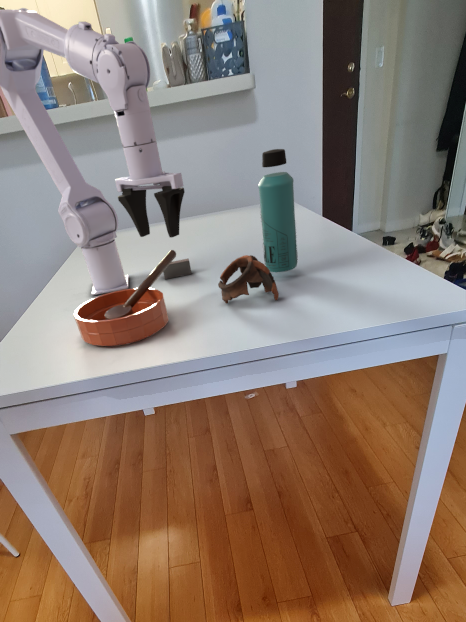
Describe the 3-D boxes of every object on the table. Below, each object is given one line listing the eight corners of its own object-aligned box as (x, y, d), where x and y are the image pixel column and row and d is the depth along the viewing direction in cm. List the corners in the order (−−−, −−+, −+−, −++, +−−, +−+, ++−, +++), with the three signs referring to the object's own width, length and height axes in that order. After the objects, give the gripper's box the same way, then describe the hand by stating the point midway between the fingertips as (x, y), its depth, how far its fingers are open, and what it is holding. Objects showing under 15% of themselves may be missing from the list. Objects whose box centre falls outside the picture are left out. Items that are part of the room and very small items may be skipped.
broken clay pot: (283, 308, 78) (256, 270, 72) (238, 334, 83) (210, 300, 77) (282, 268, 84) (257, 230, 79) (240, 295, 89) (214, 261, 84)
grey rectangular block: (164, 277, 100) (161, 263, 99) (191, 271, 101) (188, 258, 99) (164, 279, 99) (161, 265, 97) (191, 274, 99) (189, 260, 97)
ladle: (123, 334, 76) (109, 300, 72) (104, 330, 79) (90, 297, 74) (192, 282, 85) (183, 249, 81) (173, 280, 88) (164, 247, 83)
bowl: (87, 323, 85) (78, 298, 82) (167, 307, 85) (161, 282, 82) (79, 356, 73) (68, 328, 70) (171, 337, 74) (164, 309, 71)
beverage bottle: (304, 270, 90) (300, 144, 77) (288, 281, 86) (281, 151, 73) (275, 269, 93) (266, 147, 80) (259, 280, 90) (247, 154, 76)
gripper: (187, 136, 74) (202, 230, 83) (126, 144, 82) (146, 229, 91) (158, 143, 70) (177, 241, 79) (97, 151, 78) (121, 239, 87)
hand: (159, 235), depth 85 cm, fingers open, 7 cm apart
